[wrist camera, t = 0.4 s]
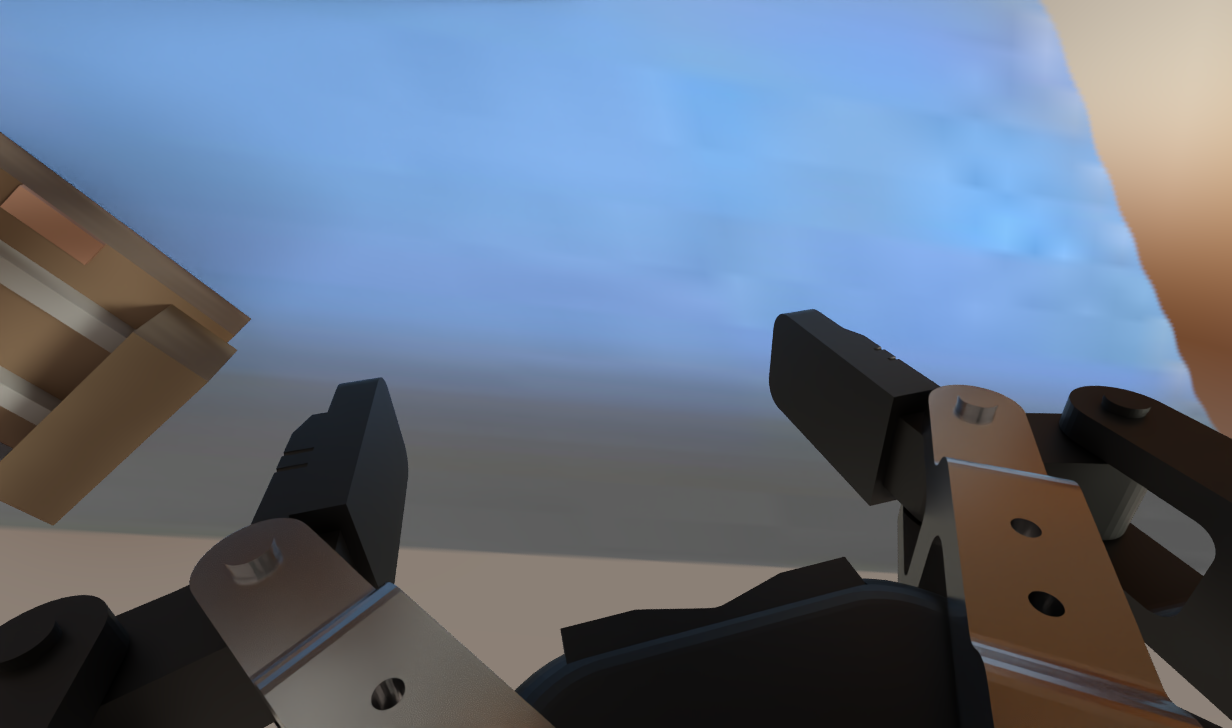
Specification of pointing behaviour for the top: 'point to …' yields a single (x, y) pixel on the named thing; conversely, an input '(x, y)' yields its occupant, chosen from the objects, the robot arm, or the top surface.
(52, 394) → the press base
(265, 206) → the top surface
